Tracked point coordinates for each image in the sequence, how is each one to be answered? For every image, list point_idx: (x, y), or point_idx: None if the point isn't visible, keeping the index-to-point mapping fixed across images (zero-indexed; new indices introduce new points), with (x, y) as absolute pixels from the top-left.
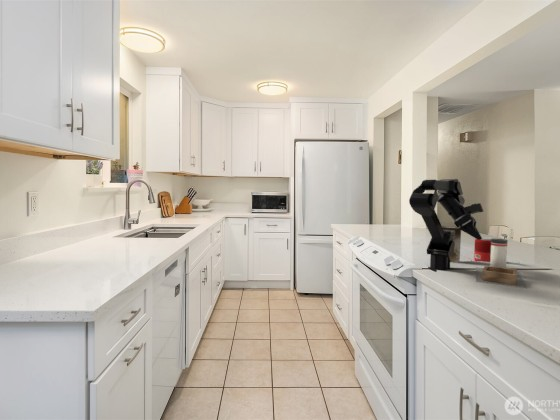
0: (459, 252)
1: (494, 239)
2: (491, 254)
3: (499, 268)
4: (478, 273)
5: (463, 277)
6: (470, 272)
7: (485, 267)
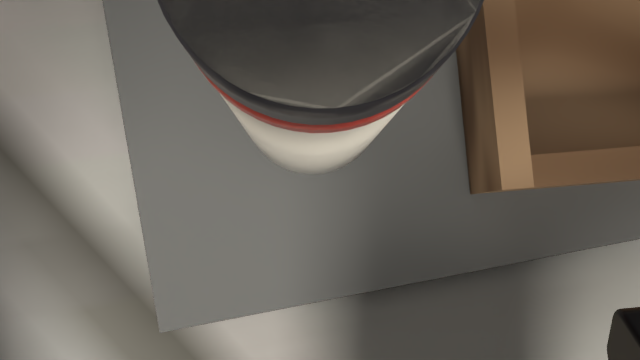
0: None
1: (391, 29)
2: (374, 132)
3: (518, 46)
4: (453, 252)
5: None
6: (360, 339)
7: (607, 167)
